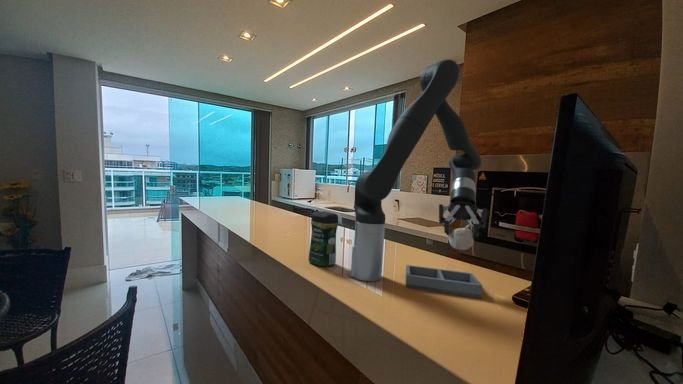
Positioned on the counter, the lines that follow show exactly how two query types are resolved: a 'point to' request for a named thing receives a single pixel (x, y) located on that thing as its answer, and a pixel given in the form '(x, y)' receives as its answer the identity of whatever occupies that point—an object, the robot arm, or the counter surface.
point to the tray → (443, 281)
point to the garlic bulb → (461, 238)
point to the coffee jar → (323, 238)
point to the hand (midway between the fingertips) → (460, 235)
